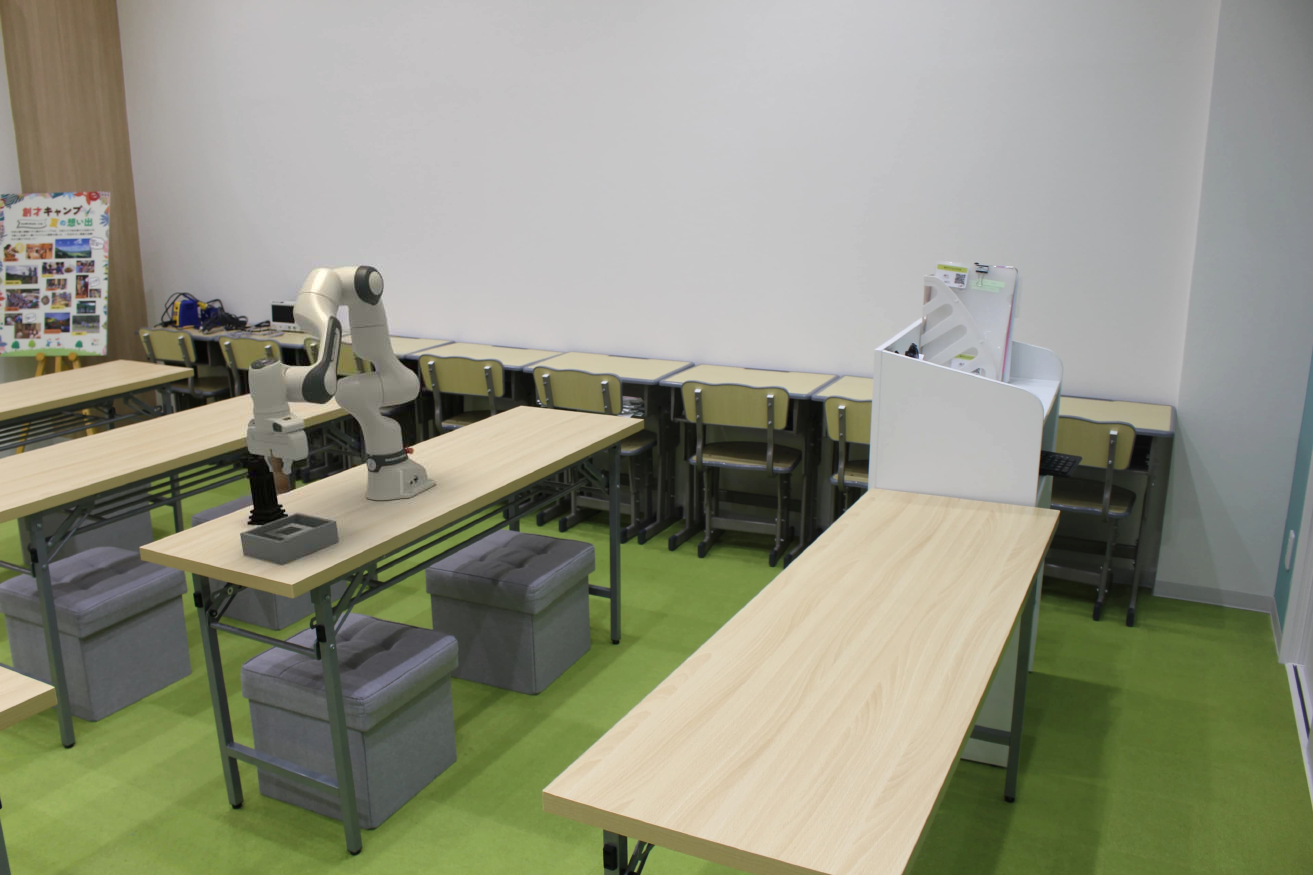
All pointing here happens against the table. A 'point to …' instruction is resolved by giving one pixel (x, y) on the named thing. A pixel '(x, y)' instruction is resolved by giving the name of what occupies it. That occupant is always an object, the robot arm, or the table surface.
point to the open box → (289, 539)
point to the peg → (279, 475)
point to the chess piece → (262, 491)
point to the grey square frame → (286, 531)
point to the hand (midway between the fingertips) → (280, 472)
